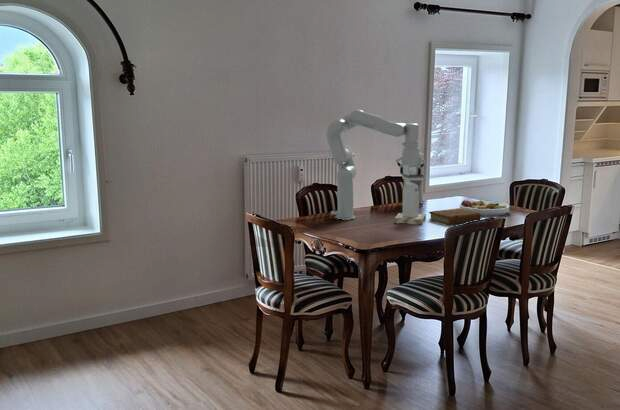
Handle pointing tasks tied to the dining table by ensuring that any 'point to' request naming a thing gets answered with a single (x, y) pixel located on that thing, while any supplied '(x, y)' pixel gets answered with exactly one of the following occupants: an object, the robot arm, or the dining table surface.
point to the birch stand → (410, 219)
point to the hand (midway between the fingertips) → (410, 174)
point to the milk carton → (410, 201)
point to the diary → (454, 216)
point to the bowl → (485, 207)
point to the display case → (414, 178)
